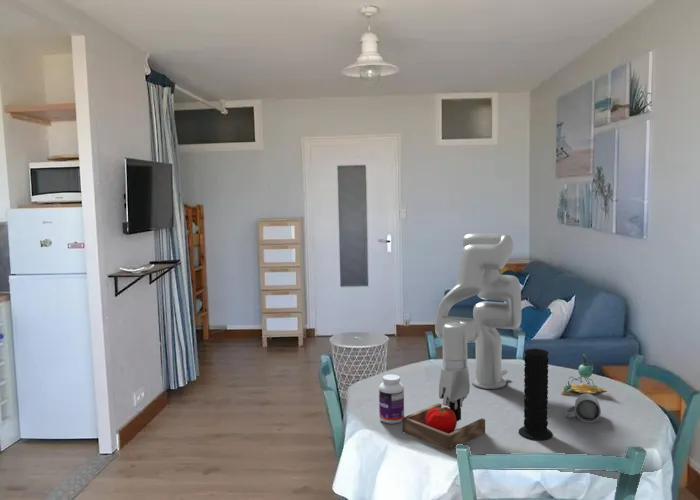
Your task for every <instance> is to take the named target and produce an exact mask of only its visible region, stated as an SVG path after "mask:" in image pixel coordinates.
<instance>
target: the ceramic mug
mask: <svg viewBox="0 0 700 500" xmlns="http://www.w3.org/2000/svg"><path fill="white" fill-rule="evenodd" d="M564 415H565V417H567V418H573V417H576V418H577V419H578V420H580V421H581V422H583V423H587V424H591V423H594V422H596V421H598V420H599V419H600V417H601V415H602V409H601V405H600V402H599V400H598V398H597V397H595V396H594V394H593V395H592V393H590V394H587V393H580V395H578V396H577V398H576V399H575V403H574V405H573V406H570V407H567V408H566V409H565V410H564Z"/></svg>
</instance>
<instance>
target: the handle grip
mask: <svg viewBox="0 0 700 500" xmlns="http://www.w3.org/2000/svg"><path fill="white" fill-rule="evenodd" d="M548 355H549V351H548V350H546V349H541V348H527V349H525V350H524V358H523V359H524V363H523V364H524V365H523V366H524V369H523V372H524V379H523V380H524V381H523V382H524V383H523V386H524V390H523V393H524V395H523V397H524V399H523V403H524V404H523V405H524V406H523V407H524V408H523V413H524V414H523V417H524V419H523V426H521V427H520V428H519V429H518V432H517V433H518V435H520V436H521V438H525V439H527V440H530V441H536V442H537V441H539V442H541V441H548V440H551V439H552V438H553V436H554V435H553V432H552V431H551V430H550V429H549V428H548V414H549V411H548V409H549V407H548V403H549V401H548V399H549V396H548V394H549V390H548V389H549V386H548V384H549V379H548V378H549V376H548V375H549V357H548Z"/></svg>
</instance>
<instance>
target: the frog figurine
mask: <svg viewBox="0 0 700 500" xmlns="http://www.w3.org/2000/svg"><path fill="white" fill-rule="evenodd" d="M586 355H587V354H585V353H583V354H582V357H583V361H581V364H580V365H579V366H578V370H577V371H578V375H579V377H578V378H576V377H573V376H569V378H568V381H567V384H565V386H563V387H562V388H563V391H562V392H561V393H560V395H563V396H568V395H574V394H576V393H575V392H578V394H596V393H602V392H607V391H608V390H607V389H605V388H603V387H598V385H595V384H594V381H593V380H592V379H591V378H590V377H591V376H592V375H593V374H594V373H595V371H594V368H595V365H594V364H593V363H592V364H591V365H590V364H589V363H588V362H587V361H588V360H587V356H586ZM571 378H572V380H571V382H570V379H571ZM582 378H583V379H585V381H586V383H587V384H586V383H583V380H582ZM578 380H579V382H580V384H574V383H573V382H574V381H578ZM590 381H591V382H592V385H591V383H590ZM572 383H573V384H572ZM570 390H572V391H574V392H571V391H570Z"/></svg>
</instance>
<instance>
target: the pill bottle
mask: <svg viewBox="0 0 700 500" xmlns="http://www.w3.org/2000/svg"><path fill="white" fill-rule="evenodd" d="M404 388H405V387H404V385H403V383H401V377H400V376H399V375H398V374H385V375H383V376H382V382H381V383H380V385H379V386H378V398H379V399H378V407H379V408H378V409H379V413H378V414H379V420H380V421H381V422H383V423H385V424H391V425H394V424H398V423H402V418H403V417H405V389H404Z"/></svg>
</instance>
